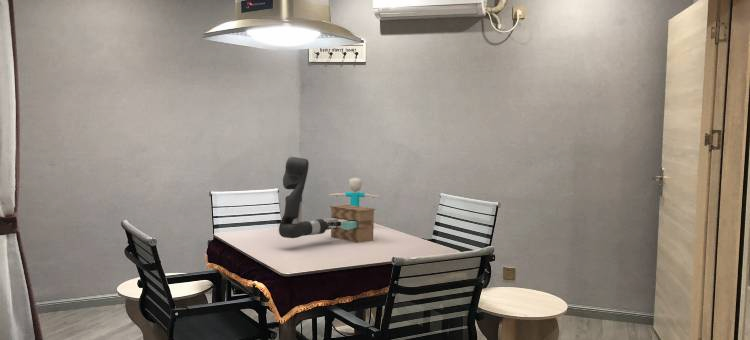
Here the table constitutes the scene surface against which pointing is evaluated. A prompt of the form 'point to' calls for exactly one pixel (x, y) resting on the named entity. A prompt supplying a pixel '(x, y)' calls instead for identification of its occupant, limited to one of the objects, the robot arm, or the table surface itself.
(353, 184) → the toy
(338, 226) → the ivory key
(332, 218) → the grey key
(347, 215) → the console
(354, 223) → the teal key
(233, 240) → the table surface
